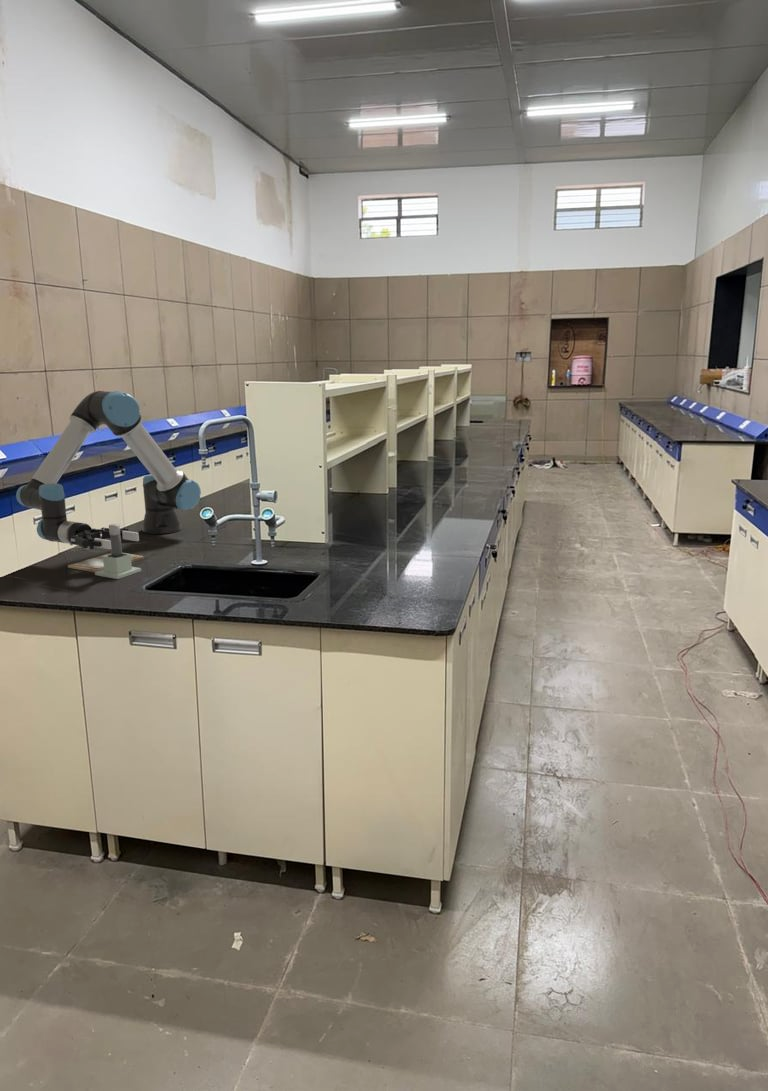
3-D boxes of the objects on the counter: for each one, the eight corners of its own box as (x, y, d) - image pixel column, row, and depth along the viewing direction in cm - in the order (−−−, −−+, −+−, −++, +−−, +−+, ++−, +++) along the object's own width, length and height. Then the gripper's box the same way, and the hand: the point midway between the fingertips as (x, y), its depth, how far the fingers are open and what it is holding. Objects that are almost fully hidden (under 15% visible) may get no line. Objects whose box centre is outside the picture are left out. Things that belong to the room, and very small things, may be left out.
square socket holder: (119, 567, 245) (117, 549, 244) (141, 571, 241) (139, 553, 239) (95, 574, 236) (93, 557, 235) (117, 579, 232) (115, 560, 230)
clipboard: (114, 553, 262) (114, 549, 262) (143, 558, 256) (143, 554, 255) (68, 567, 245) (67, 563, 244) (97, 573, 239) (97, 568, 238)
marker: (119, 568, 240) (115, 523, 237) (126, 569, 239) (121, 524, 235) (111, 570, 238) (106, 525, 234) (117, 572, 236) (112, 526, 232)
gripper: (104, 537, 255) (152, 544, 245) (47, 552, 235) (96, 561, 225) (102, 515, 253) (150, 522, 243) (44, 529, 233) (93, 537, 223)
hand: (124, 540), depth 234 cm, fingers open, 11 cm apart
